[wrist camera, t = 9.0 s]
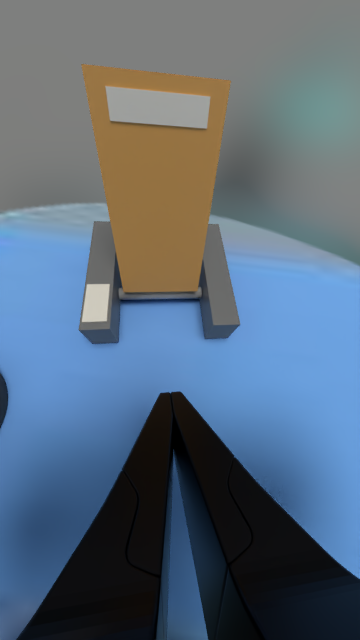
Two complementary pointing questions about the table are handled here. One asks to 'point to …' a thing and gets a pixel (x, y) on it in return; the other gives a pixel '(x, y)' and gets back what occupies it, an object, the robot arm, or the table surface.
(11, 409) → the table surface
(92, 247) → the breaker housing
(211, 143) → the block
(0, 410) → the ping pong paddle
